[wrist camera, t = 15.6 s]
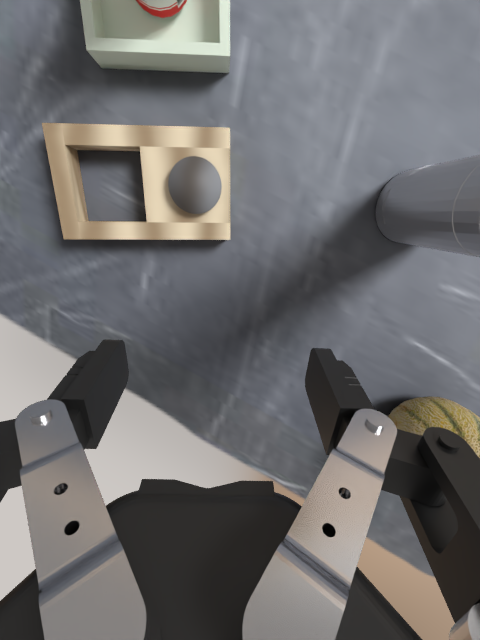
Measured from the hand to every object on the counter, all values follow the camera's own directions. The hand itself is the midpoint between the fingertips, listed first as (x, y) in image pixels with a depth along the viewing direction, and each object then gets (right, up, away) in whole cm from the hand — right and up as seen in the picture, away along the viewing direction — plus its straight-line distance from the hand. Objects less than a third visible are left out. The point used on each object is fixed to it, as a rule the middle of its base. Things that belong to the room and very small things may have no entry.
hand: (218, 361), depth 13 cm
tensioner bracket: (-10, +18, +24) cm, 32 cm away
